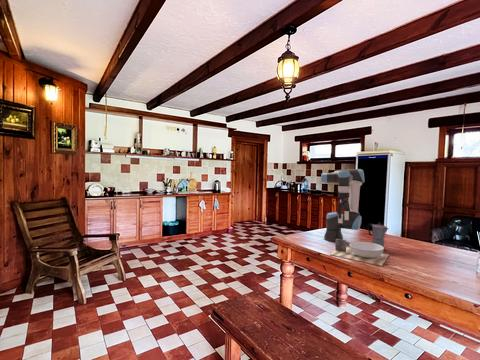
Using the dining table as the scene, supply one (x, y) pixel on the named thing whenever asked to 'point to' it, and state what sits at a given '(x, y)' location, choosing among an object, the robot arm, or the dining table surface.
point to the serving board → (348, 254)
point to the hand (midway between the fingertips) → (343, 221)
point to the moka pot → (378, 233)
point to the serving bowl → (366, 249)
